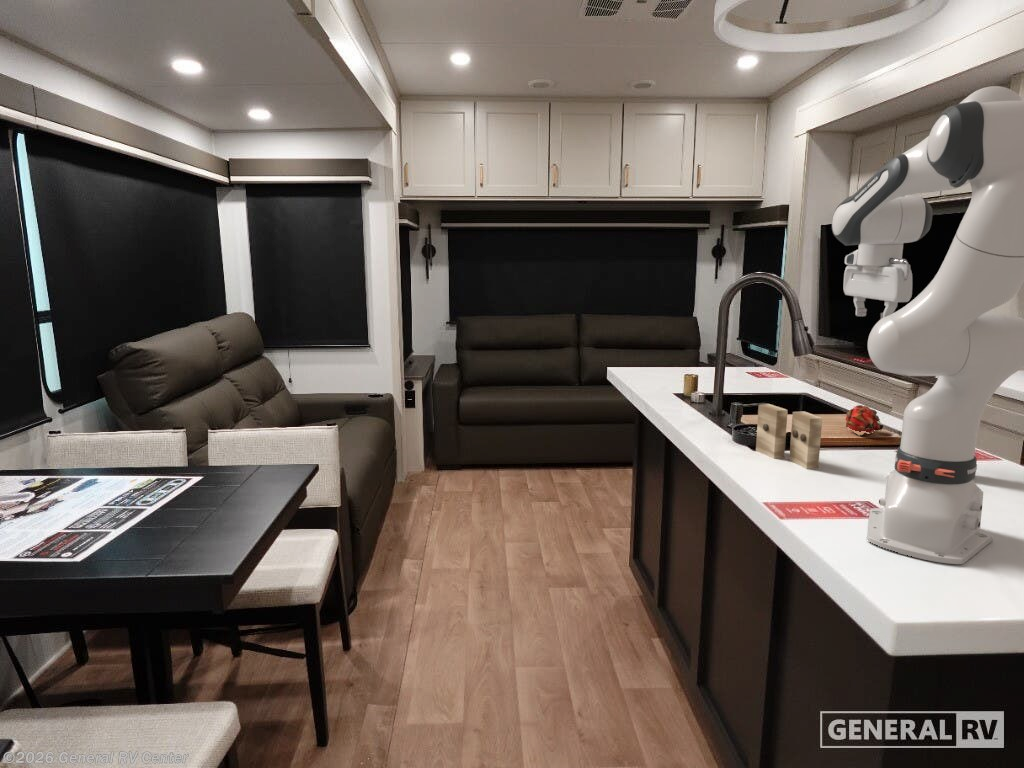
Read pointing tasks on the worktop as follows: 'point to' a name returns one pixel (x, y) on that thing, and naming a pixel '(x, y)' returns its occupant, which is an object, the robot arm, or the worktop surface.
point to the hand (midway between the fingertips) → (872, 318)
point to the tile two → (805, 439)
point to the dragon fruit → (863, 419)
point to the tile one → (771, 430)
